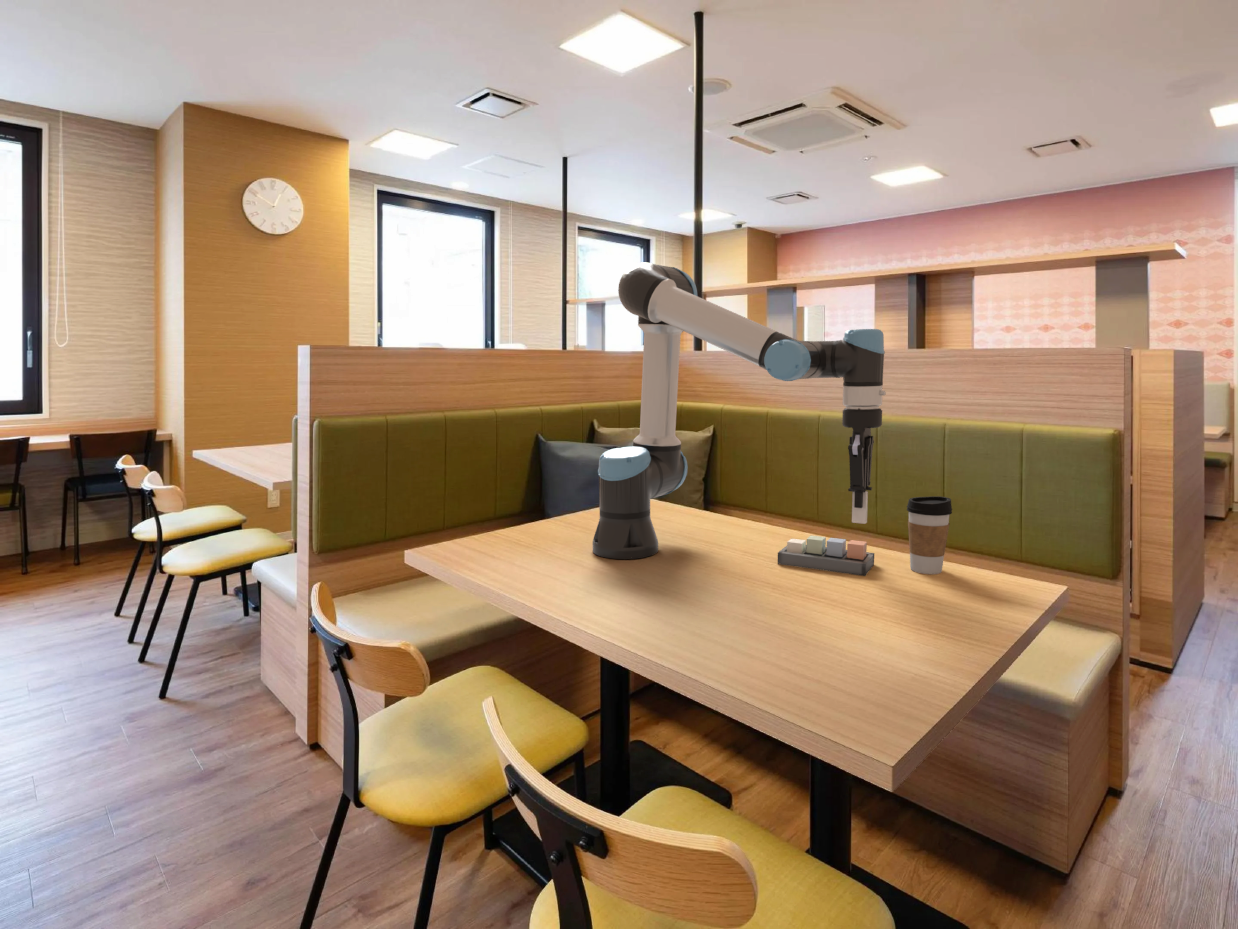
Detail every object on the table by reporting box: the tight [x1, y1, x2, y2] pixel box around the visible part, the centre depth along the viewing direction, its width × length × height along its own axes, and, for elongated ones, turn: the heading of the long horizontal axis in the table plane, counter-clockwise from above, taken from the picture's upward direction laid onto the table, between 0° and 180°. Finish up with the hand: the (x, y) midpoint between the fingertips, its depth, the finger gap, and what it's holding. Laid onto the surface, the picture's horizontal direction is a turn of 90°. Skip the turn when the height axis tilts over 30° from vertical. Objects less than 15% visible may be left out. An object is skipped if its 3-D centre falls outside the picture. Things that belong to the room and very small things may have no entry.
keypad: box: [777, 544, 875, 577], centre depth 147 cm, size 18×9×2 cm, turn 60°
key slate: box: [826, 537, 847, 557], centre depth 146 cm, size 3×3×3 cm
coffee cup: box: [906, 495, 953, 575], centre depth 141 cm, size 8×8×15 cm
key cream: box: [786, 538, 807, 554], centre depth 150 cm, size 3×3×3 cm
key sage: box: [806, 535, 827, 554], centre depth 148 cm, size 3×3×3 cm
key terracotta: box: [846, 539, 868, 560], centre depth 143 cm, size 3×3×3 cm
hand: (859, 522), depth 142 cm, fingers closed
